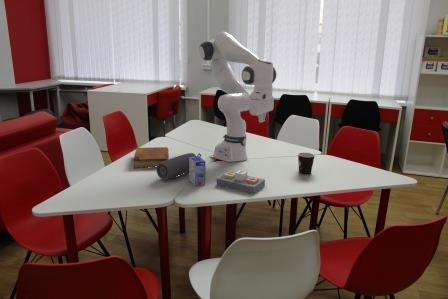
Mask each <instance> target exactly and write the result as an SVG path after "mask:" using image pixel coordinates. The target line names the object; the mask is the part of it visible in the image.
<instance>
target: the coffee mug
mask: <svg viewBox="0 0 448 299" xmlns="http://www.w3.org/2000/svg"><path fill="white" fill-rule="evenodd" d="M297 158H298V173H299V174H301V175H306V176H307V175H308V176H309V175H311V174H312V169H313V165H314V161H315V158H316V157H315V154H314V153H311V152H298V154H297Z"/></svg>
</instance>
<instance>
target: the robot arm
mask: <svg viewBox="0 0 448 299" xmlns="http://www.w3.org/2000/svg"><path fill="white" fill-rule="evenodd" d="M198 51H199V54H200V58H202V60H203V61H206V62H207V61H210V67H211V70H212V73H213V74H212V75H213V77H214V78H215V80H216V83H217V85H218V87H219V88H220V90H221V91H222V92H224V94H223V95H220V96H219V98H218V101H217V107H218V109H219V111H220V112H221V113H223V115H224V117H225V121H226V134H224V135H223V136H222V139H223V140H222V141H221V142H219V143H218V144H217V145H216V146H215V147H214V150H213V152H211V154H213V155H211V154H210V155H211V156H213V157H215V158H214V159H216V160H220V161H224V162H226V163H230V162H231V163H232V162H243V161H244V162H245V161H247V160H248V155H247V148H246V146H247V145H246V144H247V134H246V133H247V132H246V131H247V123H246V121H245V119H243V118H242V116H241V112H246V111H249V114H250V116H256V117H257V118H258V122H259V123H263V122H266V120H265V119H266V115H267V113H268V112H271V111H273V110H274V104H275V100H274V96H273V83H274V82H275V81H276V78H277V71H276V68H275V67H274V63H273V62H272V61H271V60H269V59H266V58H260V57H259V56H258V55H256V54H255V53H254V52H253V51H251V50H250V49H248V48H247V47H245V46H244V45H242V44H241V43H240V42H239V41H238V40H237V39H236V38H235V37H234V36H233V35H231V34H230V33H228V32H226V31H219V32H217V34H216V35H215V36H214V38H212V39H210V40H208V41H204V42H202V43H200V45H199V48H198ZM229 62H231V63H236V64H237V63H238V64H245V65H246V66H245V67H243V69H242V71H241V80H242V82H243V83H244V85H249V86H254V87H253V91H252V92H250V91H249V90H247V89H246V88H245V87H244V86H243V85H242V83H241V82H240V81H239V80H238V78H237V77H236V75H235V72H234V71H233V69H232V66H231V65H230V63H229ZM225 93H226V94H225ZM213 157H212V158H213Z"/></svg>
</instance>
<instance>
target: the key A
mask: <svg viewBox="0 0 448 299" xmlns="http://www.w3.org/2000/svg"><path fill="white" fill-rule="evenodd" d="M230 172H231V171H227V172H226V173H224V174H223V175H224V177H225V178H229V179H233V178H235V172H233V173H230Z"/></svg>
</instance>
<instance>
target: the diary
mask: <svg viewBox="0 0 448 299" xmlns="http://www.w3.org/2000/svg"><path fill="white" fill-rule="evenodd" d="M169 155H170V154H169V148H168V146H165V147H160V146H158V147H136V148H135V152H134V155H133V162H134V165H133V169H149V168H148V167H155V166H157V165H158V164H159V163H161V162H163V161H166V160H168V159H170V157H169Z"/></svg>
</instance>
